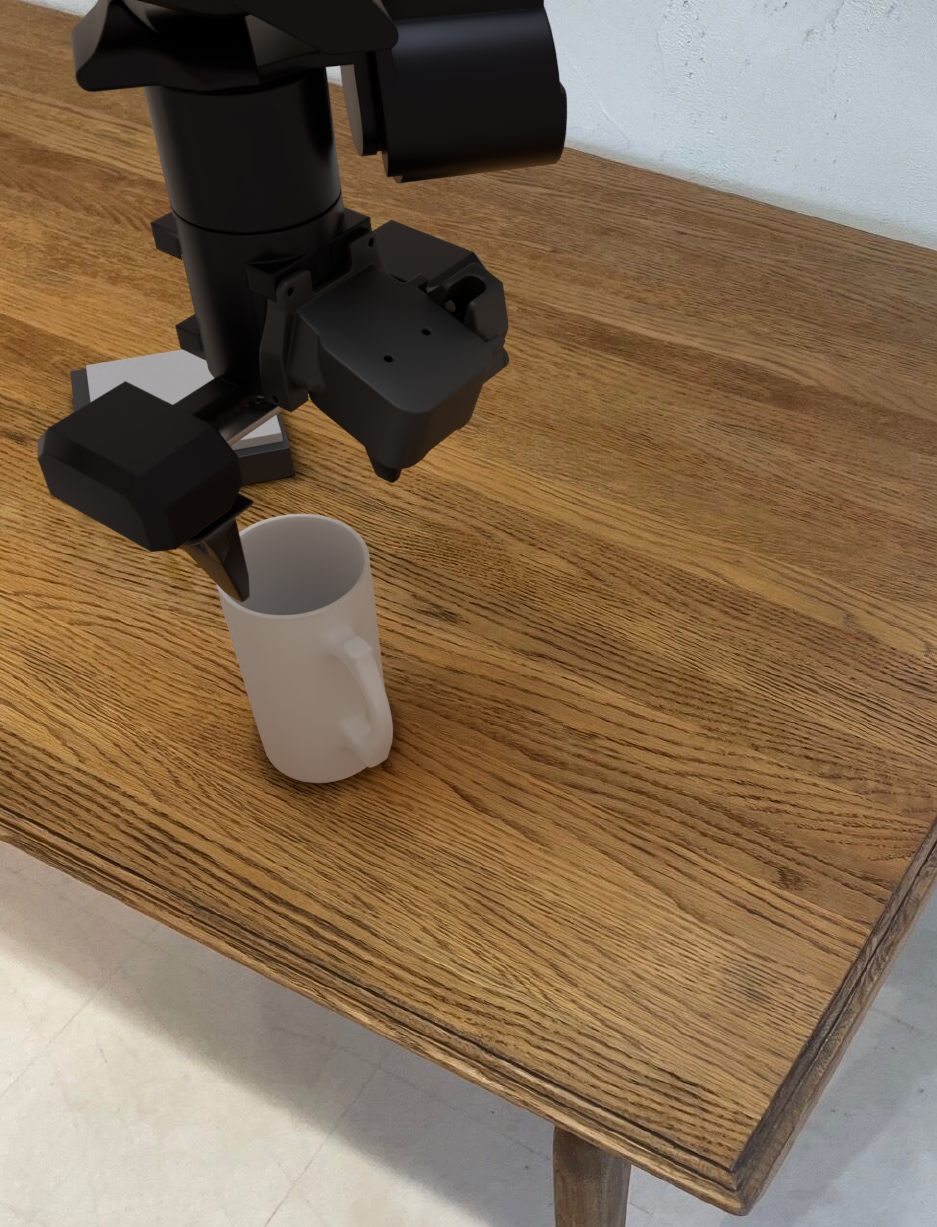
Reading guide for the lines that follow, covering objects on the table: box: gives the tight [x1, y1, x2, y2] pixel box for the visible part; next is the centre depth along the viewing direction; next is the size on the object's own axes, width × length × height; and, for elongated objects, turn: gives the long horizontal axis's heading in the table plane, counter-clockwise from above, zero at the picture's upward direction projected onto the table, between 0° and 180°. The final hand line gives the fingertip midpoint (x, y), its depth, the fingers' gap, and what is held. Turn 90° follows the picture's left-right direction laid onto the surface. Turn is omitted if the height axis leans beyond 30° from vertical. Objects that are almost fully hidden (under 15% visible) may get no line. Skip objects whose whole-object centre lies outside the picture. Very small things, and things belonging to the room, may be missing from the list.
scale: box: [69, 349, 296, 487], centre depth 81 cm, size 12×12×3 cm
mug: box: [215, 513, 394, 784], centre depth 61 cm, size 10×7×12 cm, turn 40°
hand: (316, 534), depth 55 cm, fingers open, 9 cm apart
